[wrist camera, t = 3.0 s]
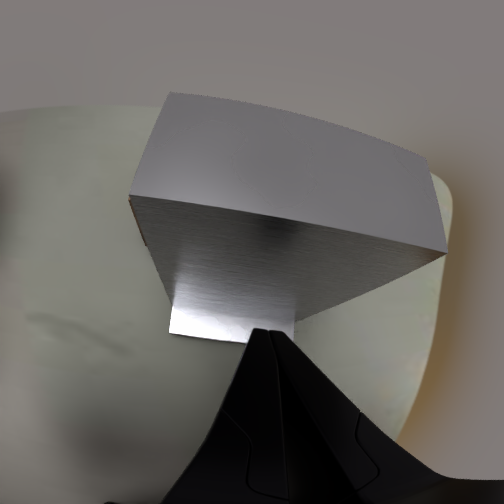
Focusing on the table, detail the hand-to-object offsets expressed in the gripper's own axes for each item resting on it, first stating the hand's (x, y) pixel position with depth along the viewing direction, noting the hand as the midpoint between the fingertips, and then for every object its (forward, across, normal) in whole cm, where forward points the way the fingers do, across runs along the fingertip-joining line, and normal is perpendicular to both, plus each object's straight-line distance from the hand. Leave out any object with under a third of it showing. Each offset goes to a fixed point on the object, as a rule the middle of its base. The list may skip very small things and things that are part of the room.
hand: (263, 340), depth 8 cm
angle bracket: (+7, 0, +3) cm, 7 cm away
